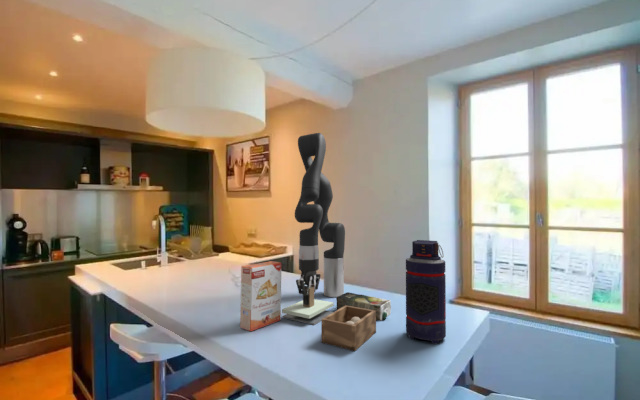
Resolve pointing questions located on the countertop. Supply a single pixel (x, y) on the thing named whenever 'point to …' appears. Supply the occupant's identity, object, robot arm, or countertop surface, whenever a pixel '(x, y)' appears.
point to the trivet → (312, 320)
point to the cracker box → (260, 295)
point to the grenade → (425, 292)
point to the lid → (308, 307)
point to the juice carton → (365, 303)
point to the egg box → (348, 327)
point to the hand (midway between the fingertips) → (308, 303)
